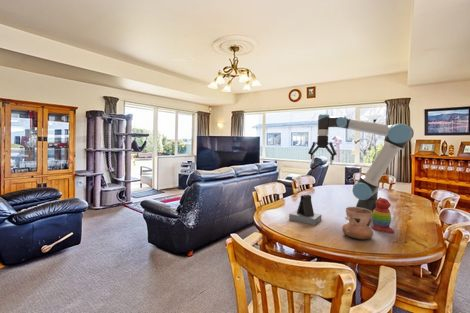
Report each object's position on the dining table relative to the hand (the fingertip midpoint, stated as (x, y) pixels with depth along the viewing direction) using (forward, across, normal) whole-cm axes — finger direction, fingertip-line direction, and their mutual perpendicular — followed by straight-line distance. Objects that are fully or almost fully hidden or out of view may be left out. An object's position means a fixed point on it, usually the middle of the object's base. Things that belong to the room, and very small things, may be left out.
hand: (321, 164), depth 189 cm
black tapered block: (+28, -4, +38) cm, 48 cm away
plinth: (+32, -4, +38) cm, 50 cm away
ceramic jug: (+32, -36, +46) cm, 67 cm away
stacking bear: (+32, -44, +26) cm, 60 cm away
